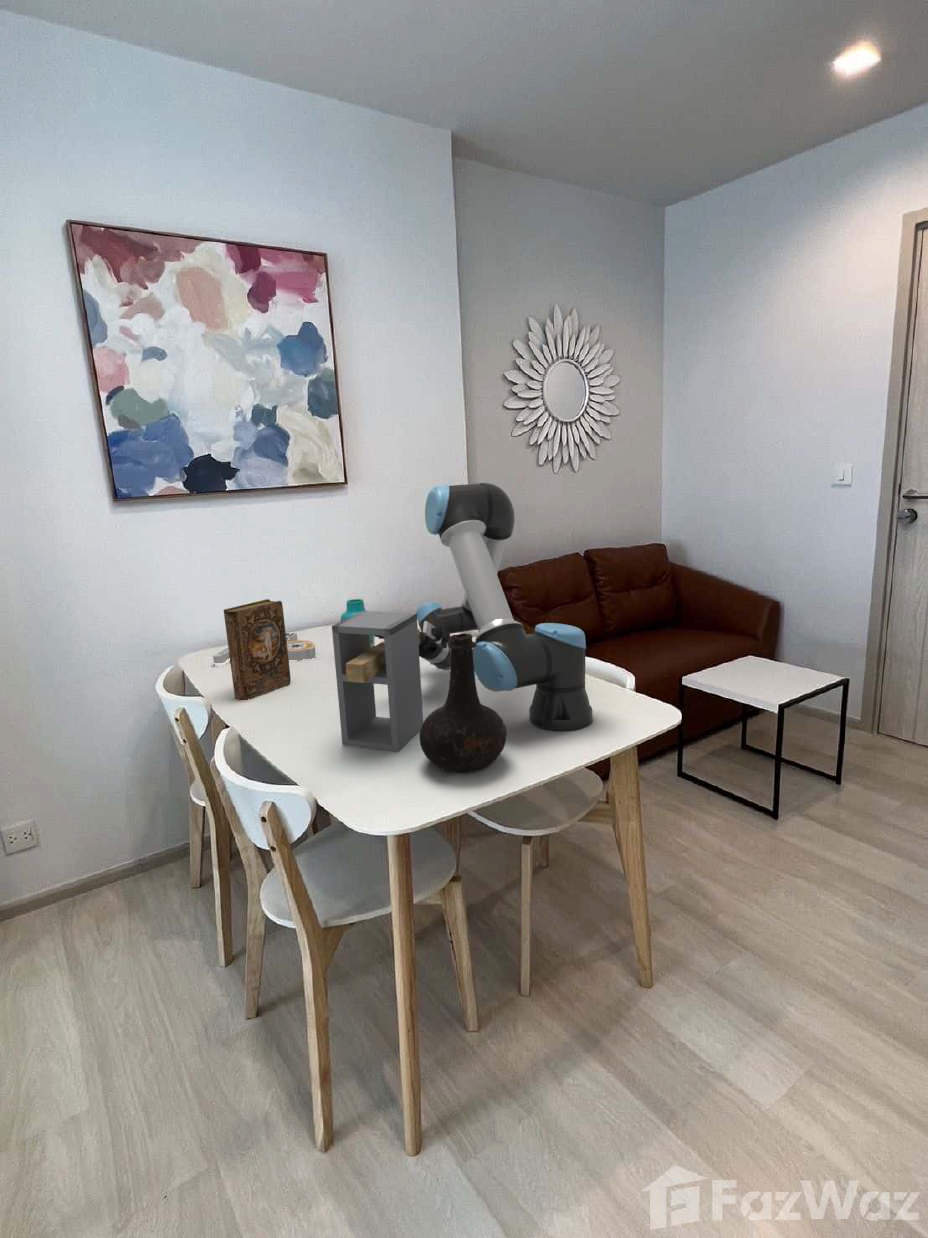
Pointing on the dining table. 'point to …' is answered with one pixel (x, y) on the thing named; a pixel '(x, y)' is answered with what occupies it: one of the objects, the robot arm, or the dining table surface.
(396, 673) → the shelf
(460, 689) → the glass bottle
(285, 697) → the dining table surface
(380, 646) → the wooden bar
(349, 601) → the vase
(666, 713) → the dining table surface
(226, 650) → the sign
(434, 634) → the robot arm
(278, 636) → the book
